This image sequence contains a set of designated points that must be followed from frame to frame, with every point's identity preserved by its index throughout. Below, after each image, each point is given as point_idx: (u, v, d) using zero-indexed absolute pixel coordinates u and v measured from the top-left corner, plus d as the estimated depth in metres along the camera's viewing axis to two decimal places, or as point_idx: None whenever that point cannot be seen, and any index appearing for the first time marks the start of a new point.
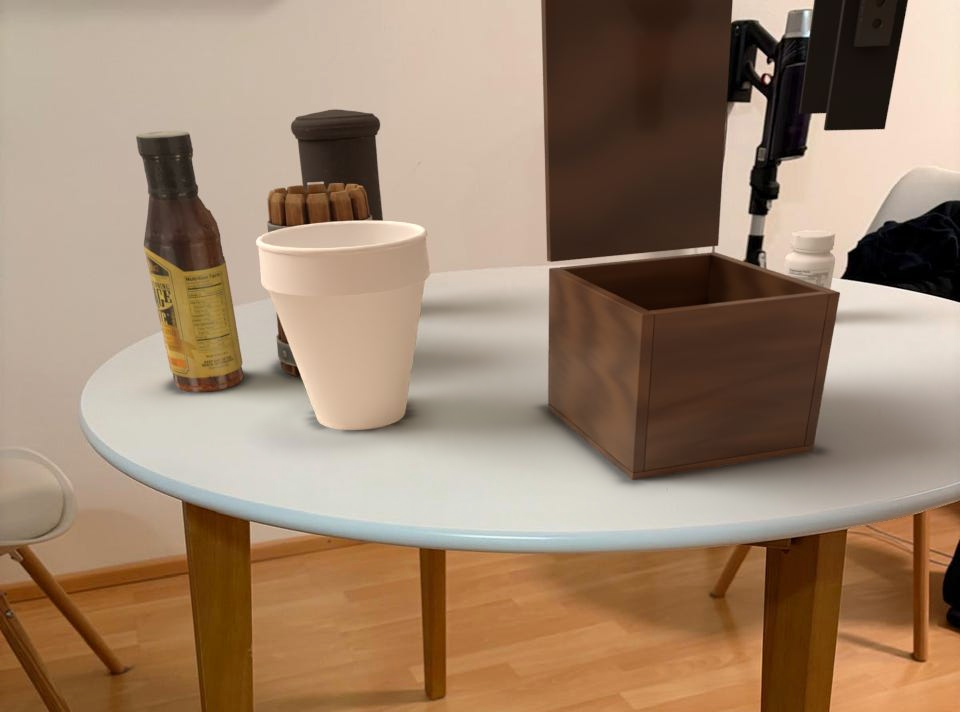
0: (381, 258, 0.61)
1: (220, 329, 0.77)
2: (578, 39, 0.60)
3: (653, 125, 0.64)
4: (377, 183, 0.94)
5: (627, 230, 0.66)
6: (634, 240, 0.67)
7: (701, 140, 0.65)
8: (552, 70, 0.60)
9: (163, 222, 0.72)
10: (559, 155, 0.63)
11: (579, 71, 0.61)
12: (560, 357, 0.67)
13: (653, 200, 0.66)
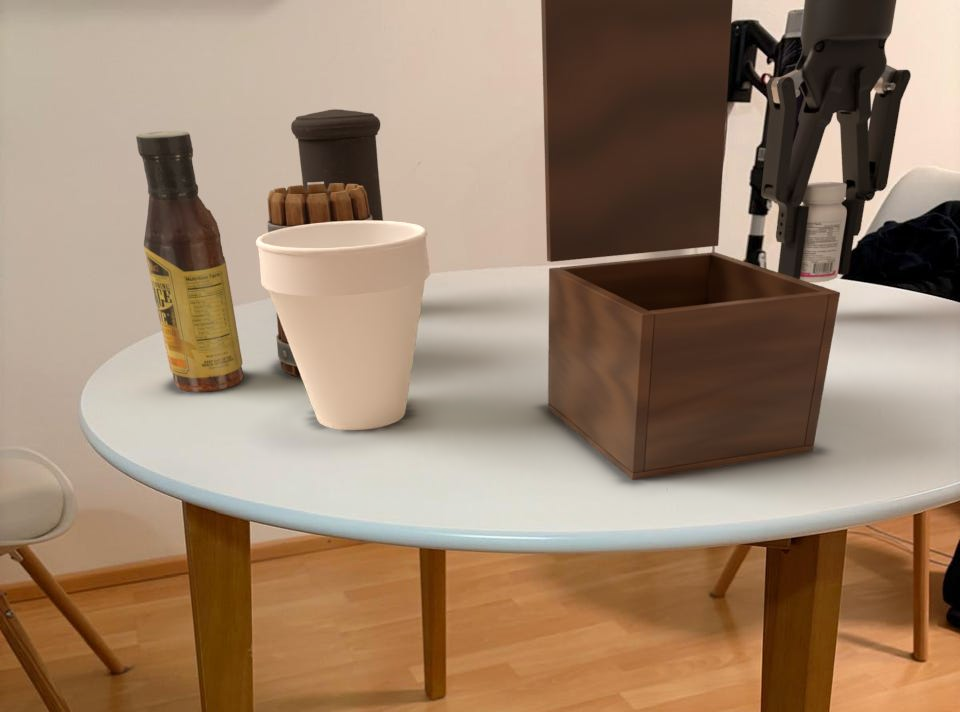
0: (381, 258, 0.61)
1: (220, 329, 0.77)
2: (578, 39, 0.60)
3: (653, 125, 0.64)
4: (377, 183, 0.94)
5: (627, 230, 0.66)
6: (634, 240, 0.67)
7: (701, 140, 0.65)
8: (552, 70, 0.60)
9: (163, 222, 0.72)
10: (559, 155, 0.63)
11: (579, 71, 0.61)
12: (560, 357, 0.67)
13: (653, 200, 0.66)
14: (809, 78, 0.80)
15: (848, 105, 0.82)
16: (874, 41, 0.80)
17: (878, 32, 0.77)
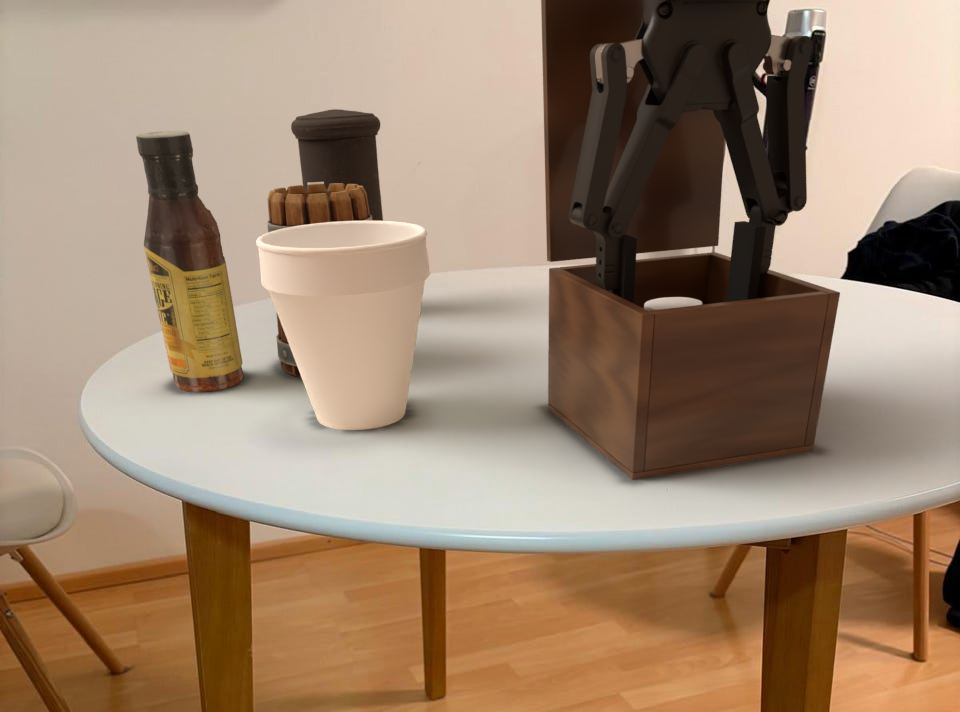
0: (381, 258, 0.61)
1: (220, 329, 0.77)
2: (578, 39, 0.60)
3: None
4: (377, 183, 0.94)
5: (627, 230, 0.66)
6: None
7: (701, 140, 0.65)
8: (552, 70, 0.60)
9: (163, 222, 0.72)
10: (559, 155, 0.63)
11: (579, 71, 0.61)
12: (560, 357, 0.67)
13: (653, 200, 0.66)
14: (650, 55, 0.53)
15: (715, 100, 0.55)
16: (750, 4, 0.53)
17: None
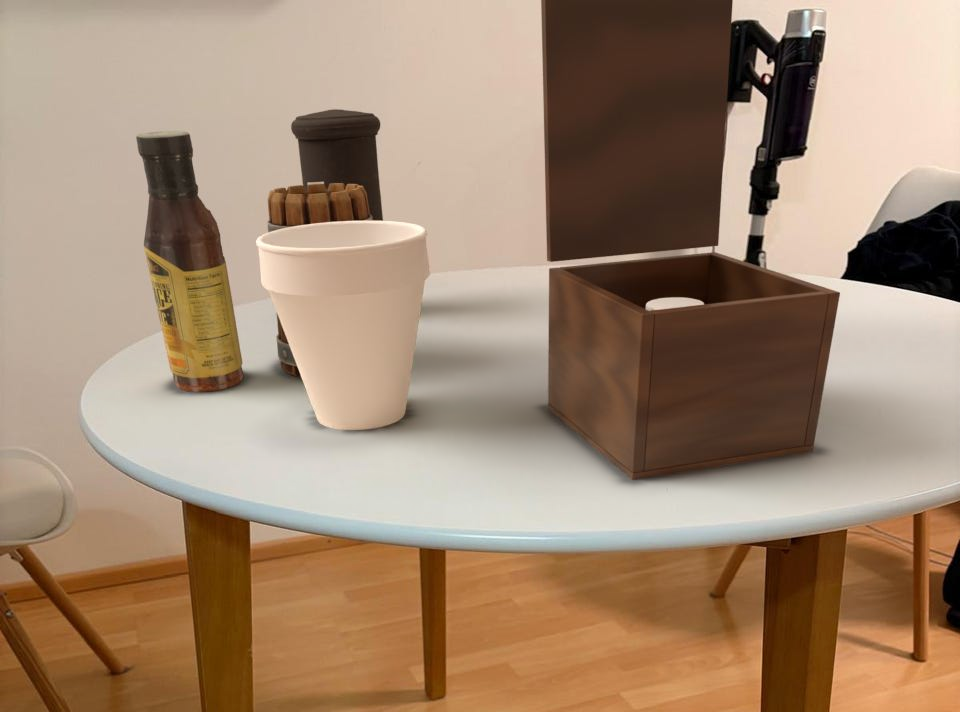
0: (381, 258, 0.61)
1: (220, 329, 0.77)
2: (578, 39, 0.60)
3: (653, 125, 0.64)
4: (377, 183, 0.94)
5: (627, 230, 0.66)
6: (634, 240, 0.67)
7: (701, 140, 0.65)
8: (552, 70, 0.60)
9: (163, 222, 0.72)
10: (559, 155, 0.63)
11: (579, 71, 0.61)
12: (560, 357, 0.67)
13: (653, 200, 0.66)
14: None
15: None
16: None
17: None
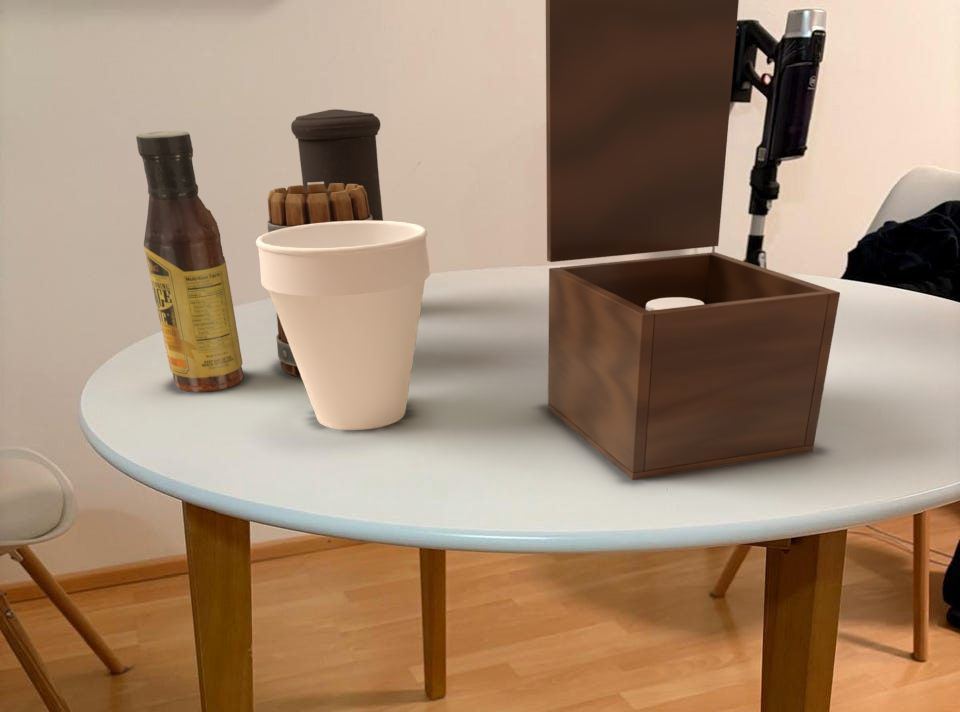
0: (381, 258, 0.61)
1: (220, 329, 0.77)
2: (583, 39, 0.60)
3: (655, 126, 0.63)
4: (377, 183, 0.94)
5: (627, 230, 0.66)
6: (634, 240, 0.67)
7: (704, 141, 0.65)
8: (555, 70, 0.60)
9: (163, 222, 0.72)
10: (561, 155, 0.63)
11: (582, 71, 0.60)
12: (560, 357, 0.67)
13: (654, 200, 0.66)
14: None
15: None
16: None
17: None
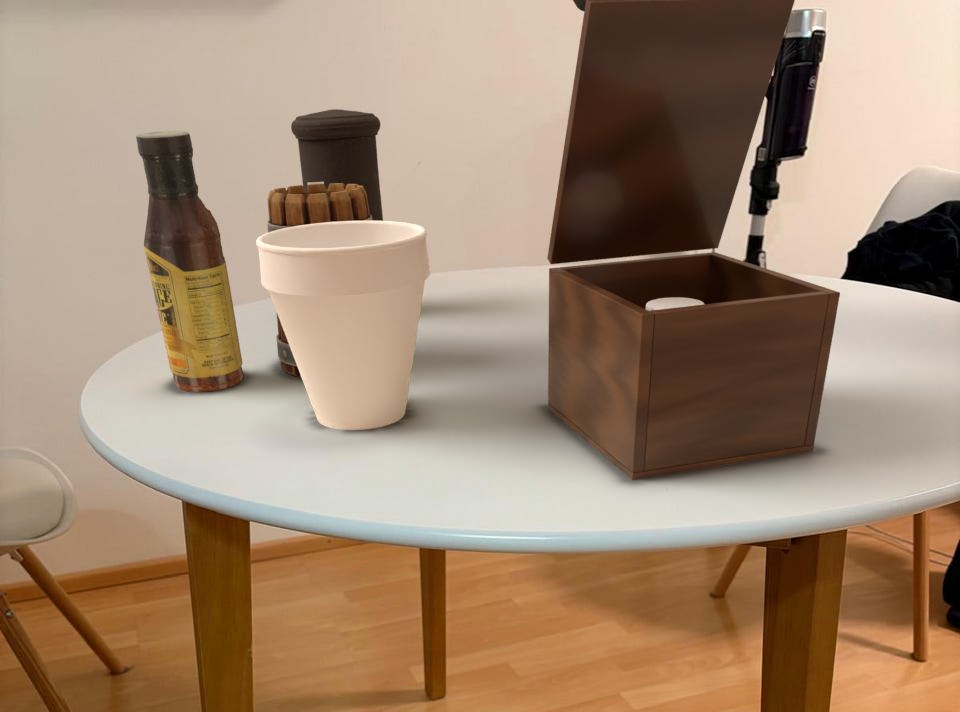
0: (381, 258, 0.61)
1: (220, 329, 0.77)
2: (617, 59, 0.56)
3: (677, 141, 0.61)
4: (377, 183, 0.94)
5: (631, 236, 0.66)
6: (636, 244, 0.67)
7: (723, 154, 0.63)
8: (583, 89, 0.57)
9: (163, 222, 0.72)
10: (576, 169, 0.61)
11: (611, 90, 0.57)
12: (560, 357, 0.67)
13: (662, 209, 0.65)
14: None
15: None
16: None
17: None
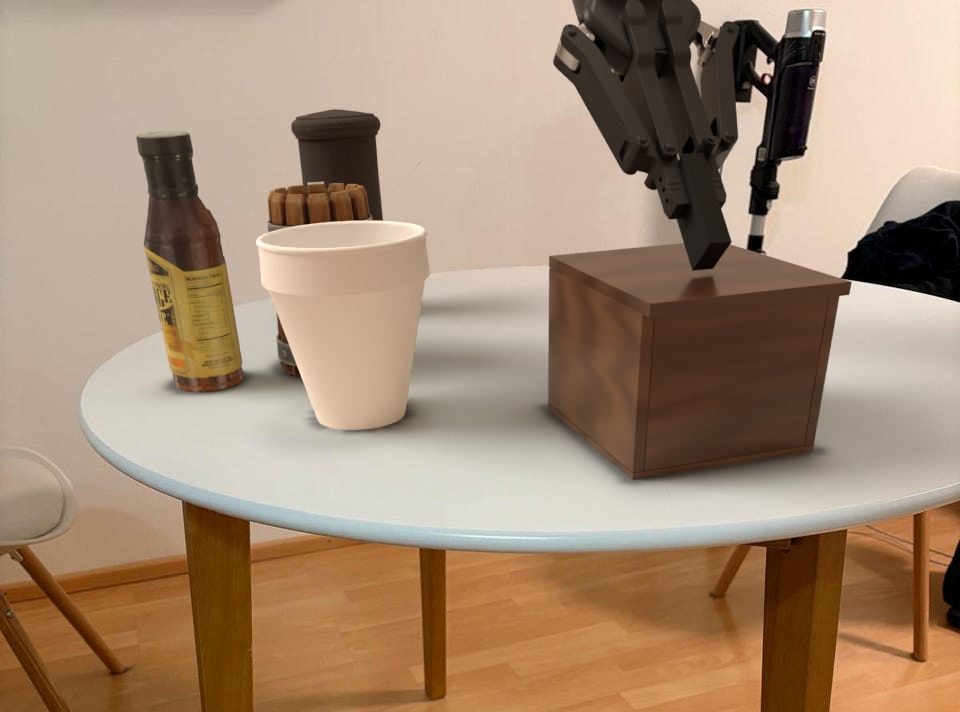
0: (381, 258, 0.61)
1: (220, 329, 0.77)
2: None
3: None
4: (377, 183, 0.94)
5: None
6: None
7: None
8: None
9: (163, 222, 0.72)
10: None
11: None
12: (560, 357, 0.67)
13: None
14: (598, 23, 0.59)
15: (665, 47, 0.60)
16: None
17: None
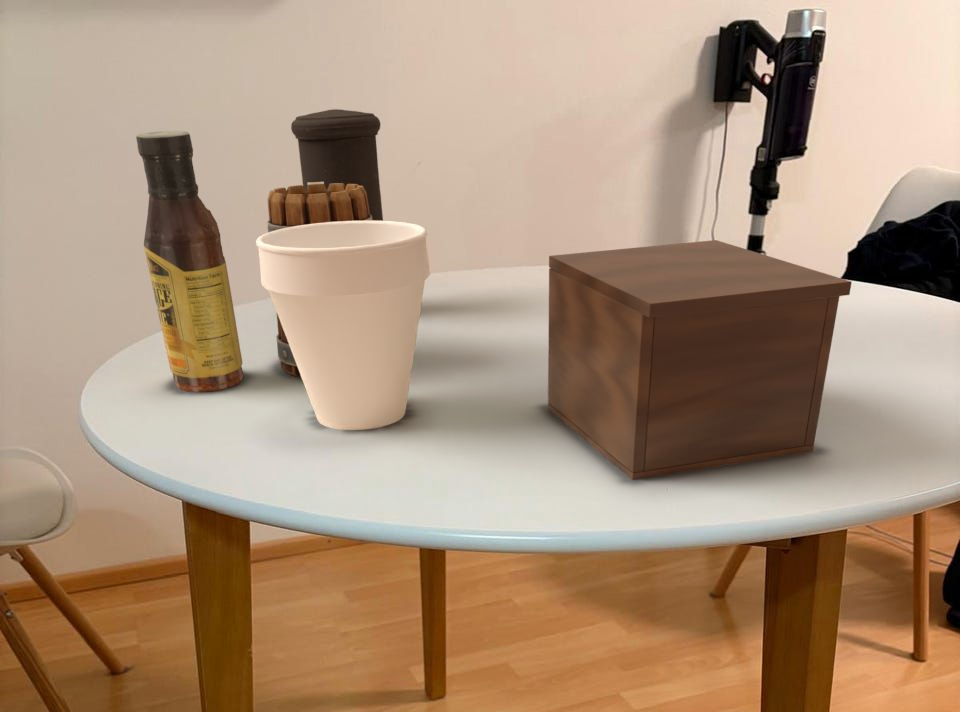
0: (381, 258, 0.61)
1: (220, 329, 0.77)
2: None
3: None
4: (377, 183, 0.94)
5: None
6: None
7: None
8: None
9: (163, 222, 0.72)
10: None
11: None
12: (560, 357, 0.67)
13: None
14: None
15: None
16: None
17: None
